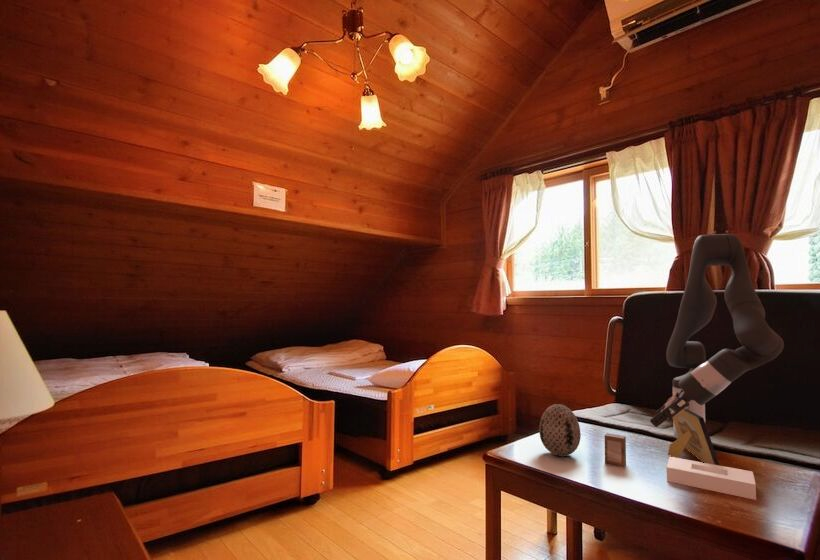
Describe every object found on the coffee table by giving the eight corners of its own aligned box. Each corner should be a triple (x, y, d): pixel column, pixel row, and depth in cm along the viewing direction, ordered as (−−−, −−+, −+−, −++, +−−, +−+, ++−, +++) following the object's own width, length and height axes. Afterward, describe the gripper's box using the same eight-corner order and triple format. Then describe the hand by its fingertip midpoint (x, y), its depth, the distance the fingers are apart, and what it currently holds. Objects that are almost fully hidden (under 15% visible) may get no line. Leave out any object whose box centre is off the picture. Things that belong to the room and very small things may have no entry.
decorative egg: (552, 463, 123) (552, 409, 124) (532, 449, 134) (532, 400, 135) (589, 460, 125) (588, 408, 126) (566, 447, 137) (566, 399, 138)
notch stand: (670, 469, 120) (669, 456, 120) (753, 485, 109) (752, 471, 109) (666, 481, 111) (666, 467, 112) (756, 499, 101) (755, 484, 101)
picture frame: (722, 473, 117) (713, 417, 118) (685, 474, 119) (677, 418, 120) (686, 446, 140) (679, 399, 141) (656, 447, 141) (649, 400, 143)
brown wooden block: (607, 460, 126) (606, 432, 126) (626, 464, 123) (625, 436, 123) (604, 464, 123) (604, 435, 124) (624, 468, 120) (623, 438, 121)
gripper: (692, 368, 120) (646, 404, 126) (690, 374, 108) (639, 414, 114) (716, 390, 116) (668, 426, 122) (717, 399, 105) (663, 438, 111)
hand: (654, 420), depth 118 cm, fingers open, 8 cm apart
